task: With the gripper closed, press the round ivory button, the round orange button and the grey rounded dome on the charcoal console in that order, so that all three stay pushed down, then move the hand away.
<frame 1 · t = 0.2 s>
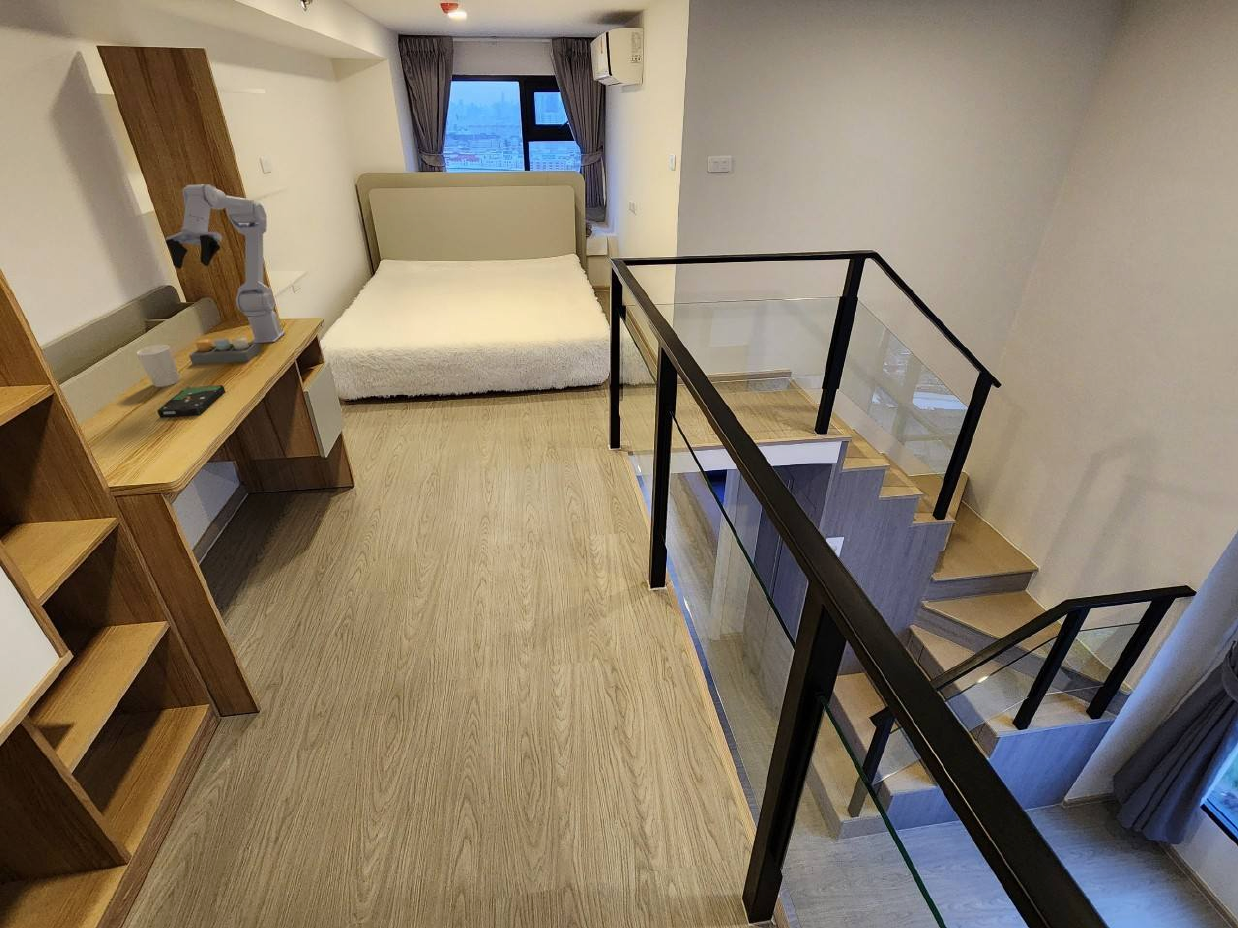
hand: (190, 265, 173), 31 cm above the table, tool tilted 45°, fingers open, 7 cm apart
button ivory: (240, 343, 197), point 4 cm above the table, slide at 0.0 cm
grey rounded dome: (222, 344, 196), point 4 cm above the table, slide at 0.0 cm
button orange: (204, 345, 196), point 4 cm above the table, slide at 0.0 cm
disk drive: (195, 406, 169), on the table
console: (227, 357, 199), on the table
white cup: (167, 383, 183), on the table
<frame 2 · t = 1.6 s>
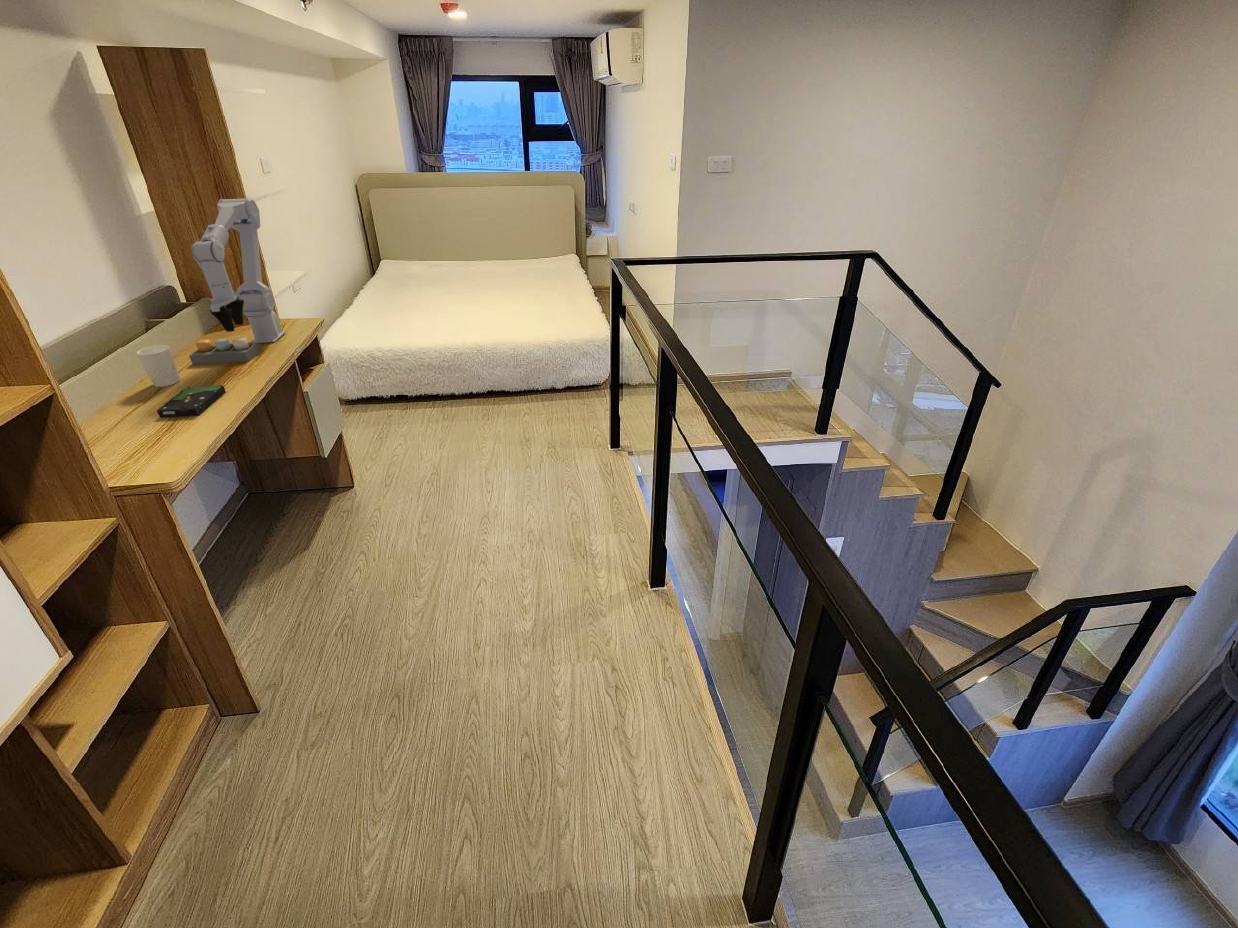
hand: (235, 327, 194), 9 cm above the table, tool pointing down, fingers open, 6 cm apart
nothing on the table moved.
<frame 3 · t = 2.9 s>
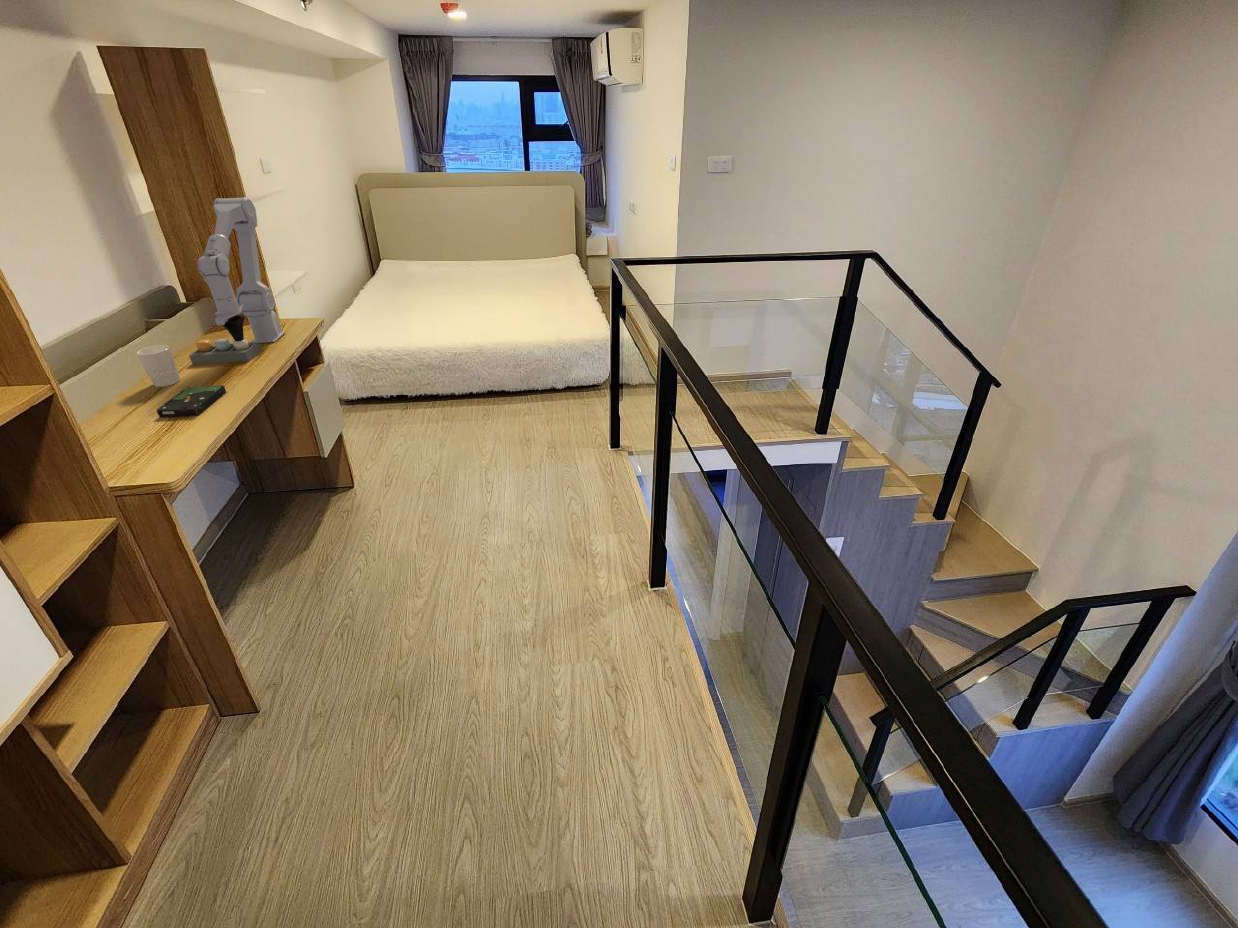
hand: (239, 340, 196), 5 cm above the table, tool pointing down, fingers closed, pressing on button ivory
button ivory: (241, 344, 197), point 4 cm above the table, slide at 0.2 cm, touching gripper
everything else where it was.
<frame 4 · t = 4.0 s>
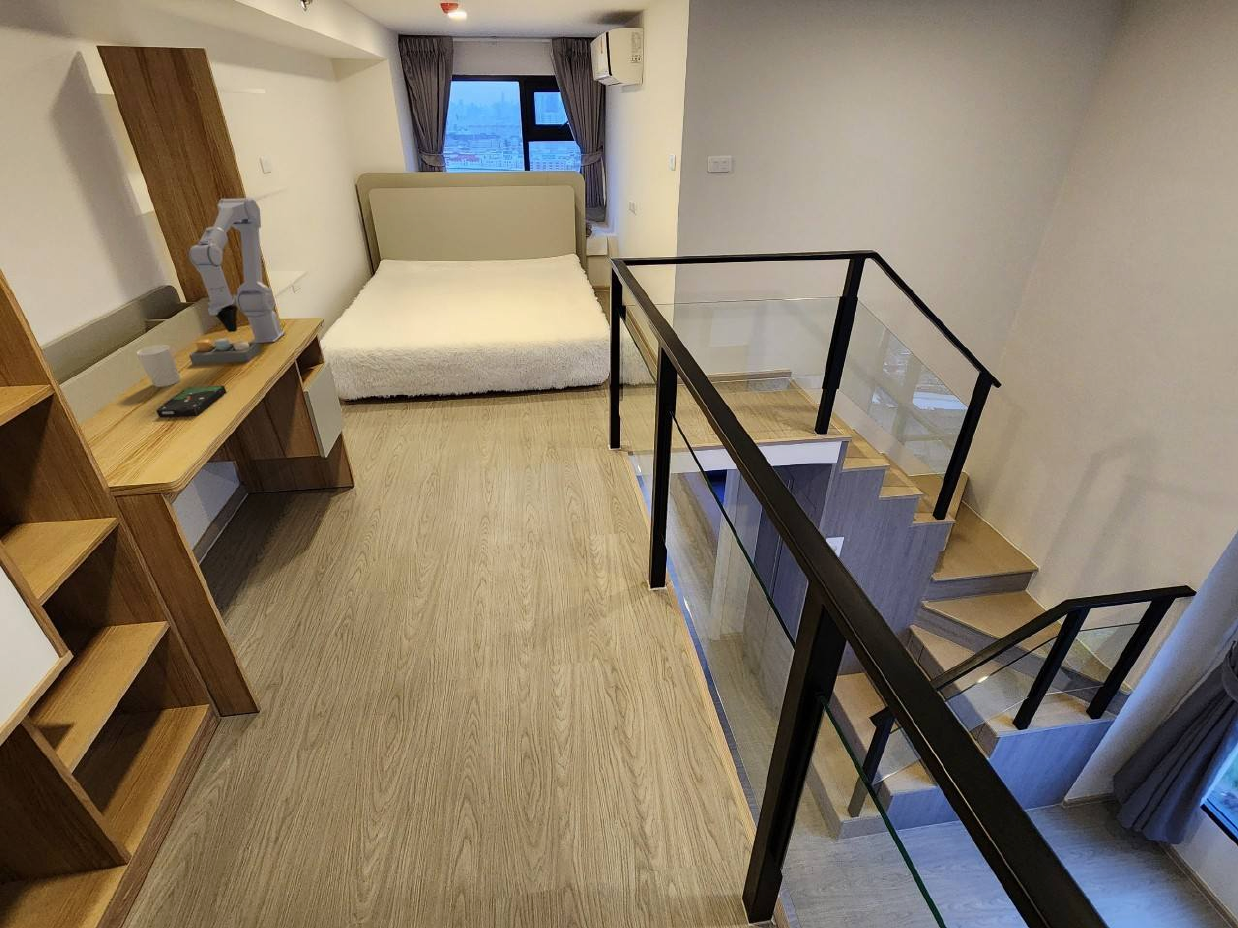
hand: (232, 331, 194), 8 cm above the table, tool pointing down, fingers closed
button ivory: (242, 347, 197), point 3 cm above the table, slide at 1.2 cm
everything else where it was.
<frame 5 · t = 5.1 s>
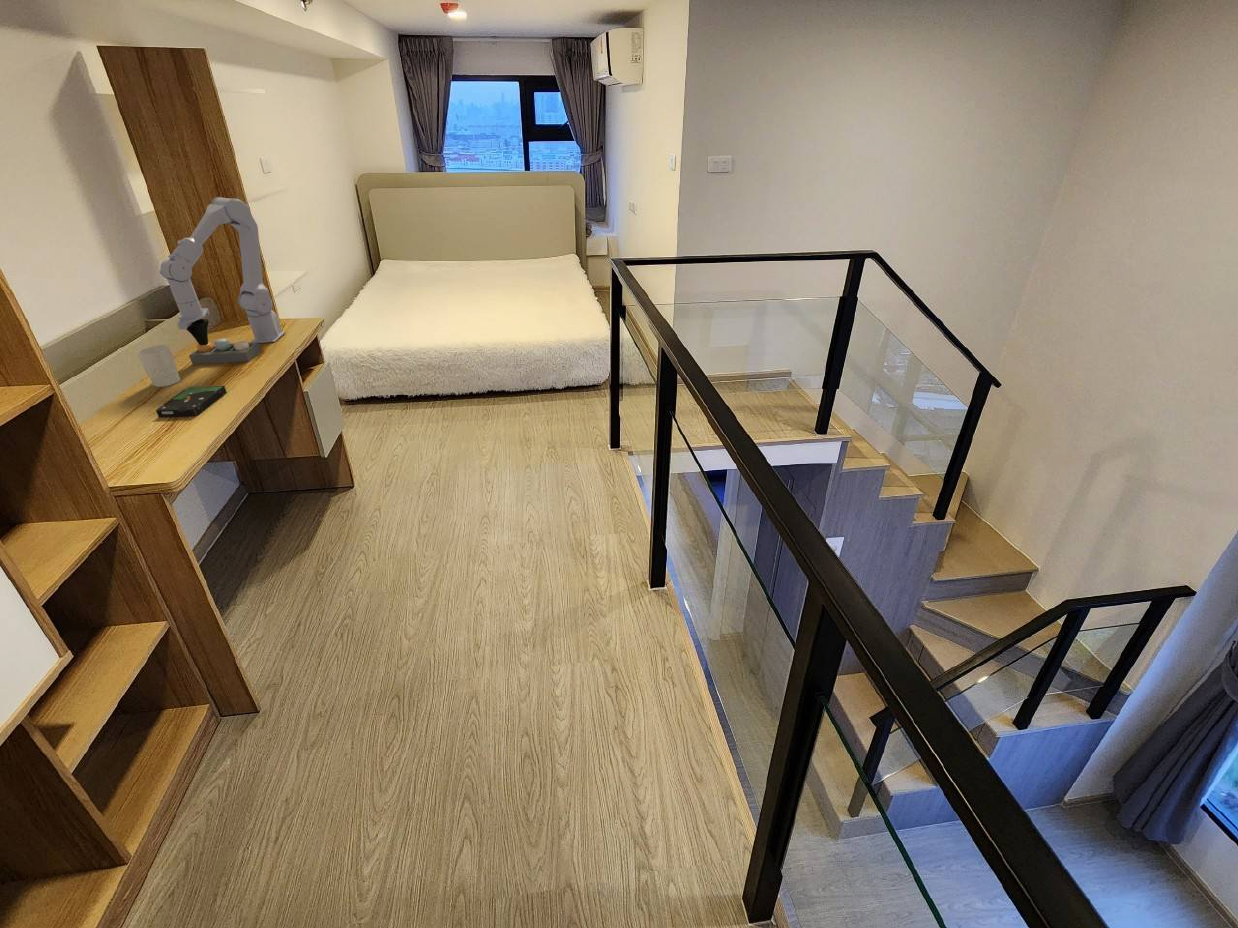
hand: (204, 344, 196), 5 cm above the table, tool pointing down, fingers closed, pressing on button orange
button orange: (205, 348, 197), point 3 cm above the table, slide at 0.9 cm, touching gripper
everything else where it was.
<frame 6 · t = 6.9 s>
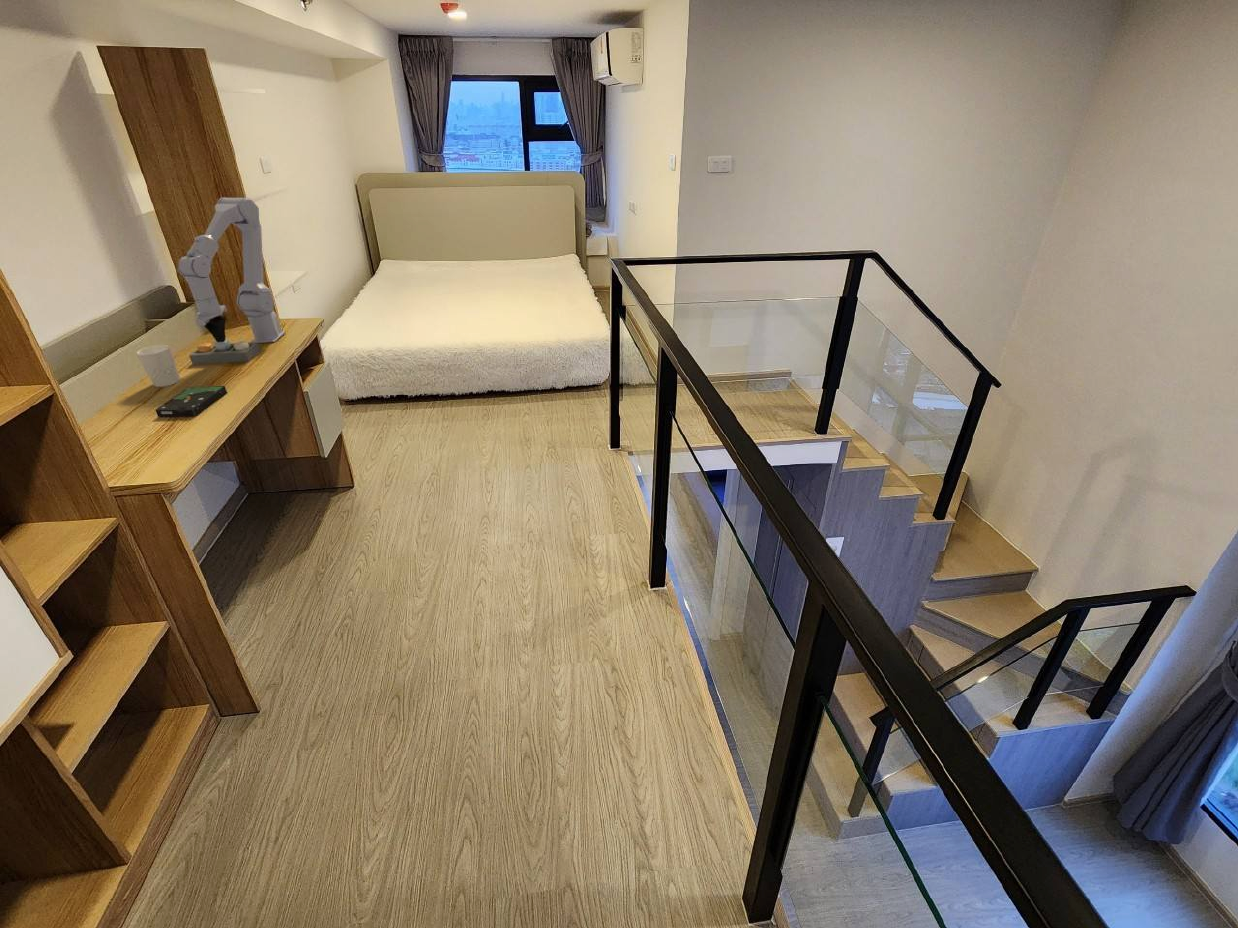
hand: (221, 341, 196), 5 cm above the table, tool pointing down, fingers closed, pressing on grey rounded dome
grey rounded dome: (222, 345, 196), point 4 cm above the table, slide at 0.2 cm, touching gripper
button orange: (206, 349, 197), point 3 cm above the table, slide at 1.2 cm
everything else where it was.
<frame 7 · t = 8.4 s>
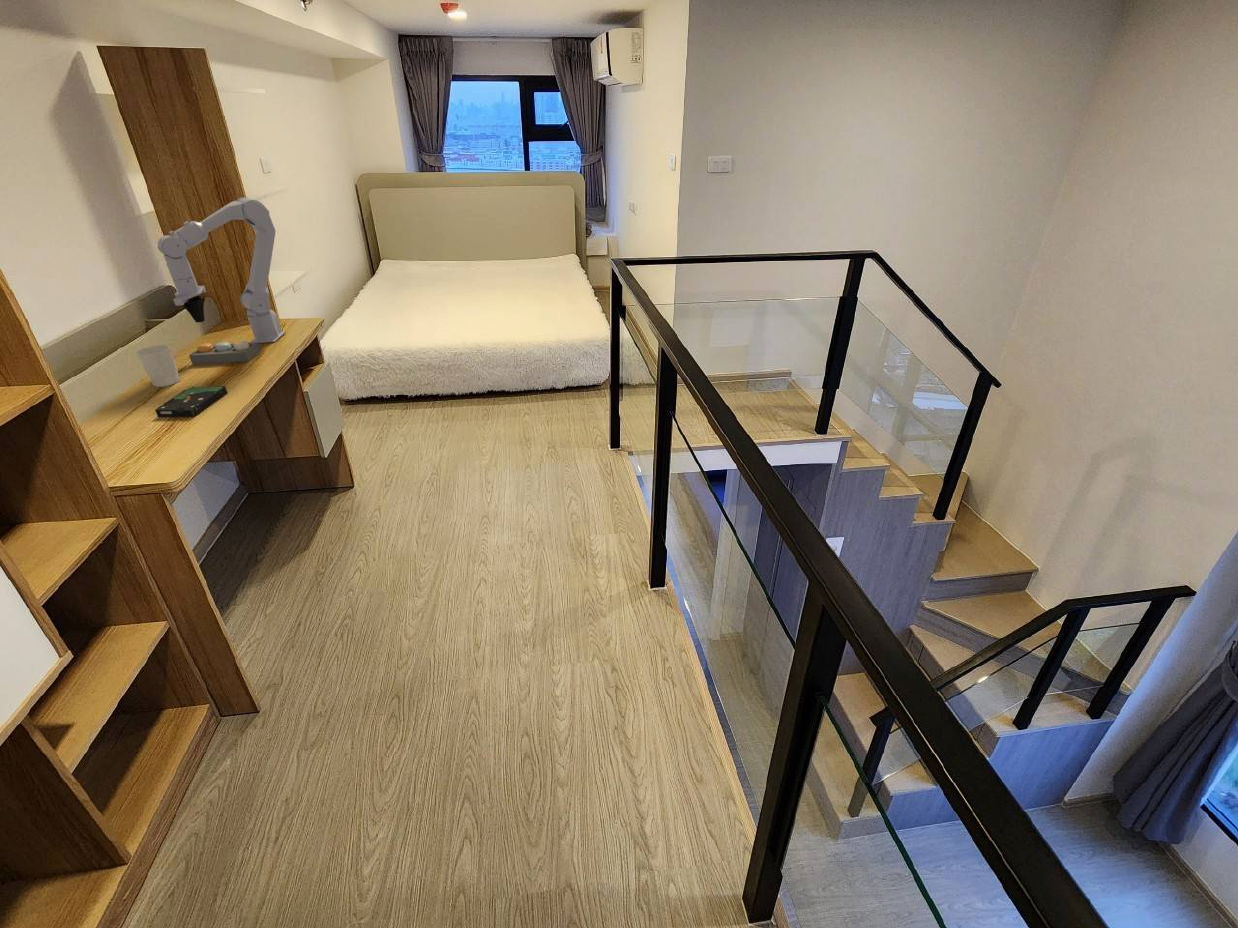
hand: (200, 321, 197), 10 cm above the table, tool pointing down, fingers closed
grey rounded dome: (224, 348, 197), point 3 cm above the table, slide at 1.2 cm
everything else where it was.
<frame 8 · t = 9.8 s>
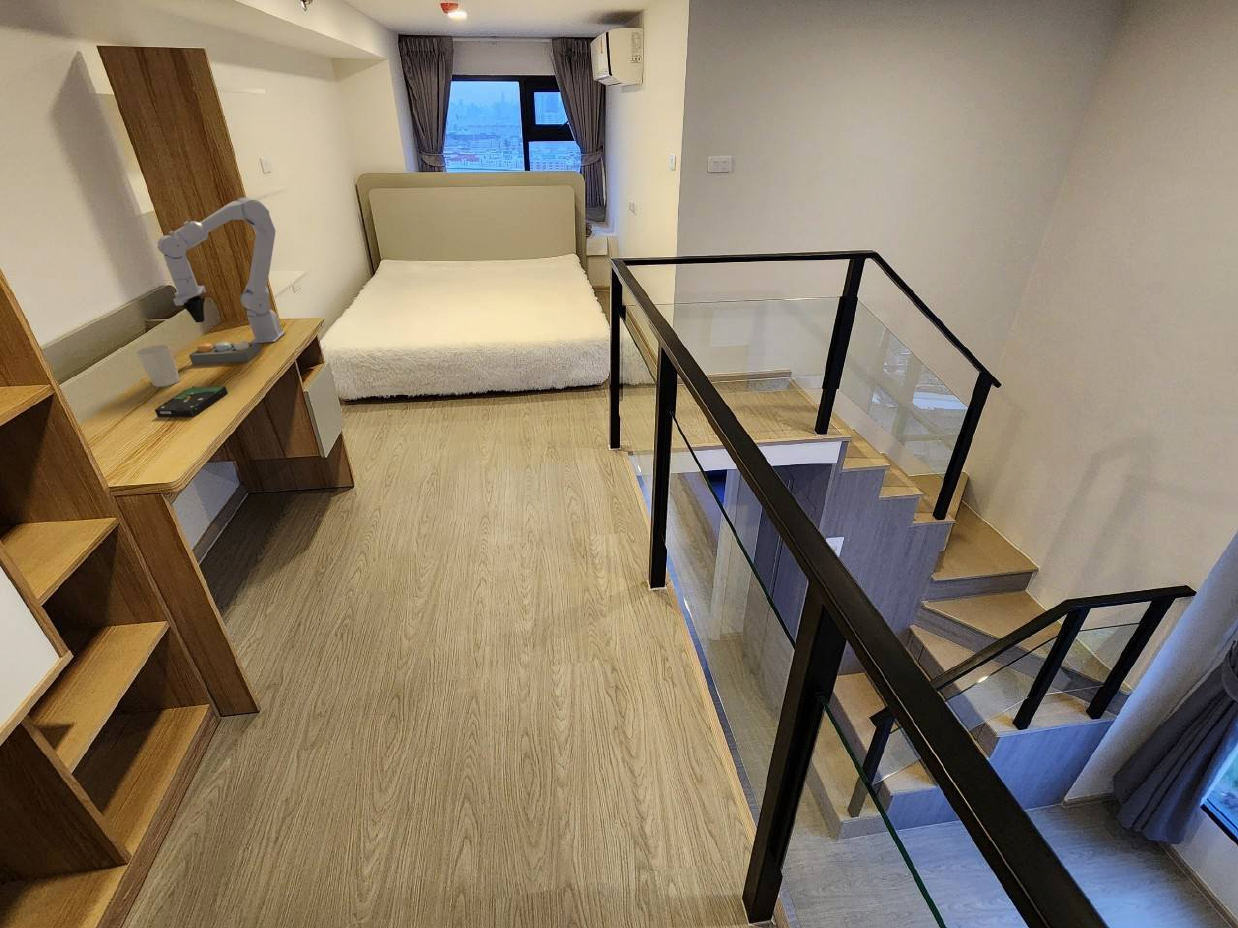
hand: (200, 321, 197), 10 cm above the table, tool pointing down, fingers closed
nothing on the table moved.
at the end: button ivory slide at 1.2 cm; button orange slide at 1.2 cm; grey rounded dome slide at 1.2 cm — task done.
